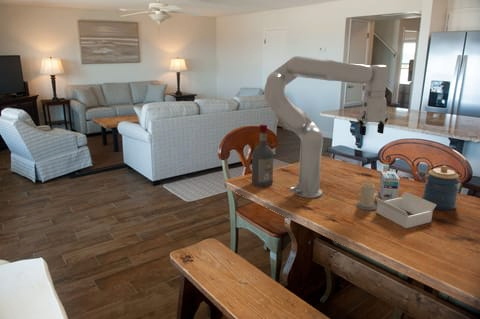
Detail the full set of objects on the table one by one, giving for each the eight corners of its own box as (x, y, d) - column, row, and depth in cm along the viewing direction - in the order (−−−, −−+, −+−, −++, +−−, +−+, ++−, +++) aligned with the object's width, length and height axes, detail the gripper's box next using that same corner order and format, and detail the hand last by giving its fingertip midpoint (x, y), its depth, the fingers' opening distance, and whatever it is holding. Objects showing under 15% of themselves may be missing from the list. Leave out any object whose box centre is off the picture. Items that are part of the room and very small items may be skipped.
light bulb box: (397, 201, 161) (400, 178, 158) (381, 200, 162) (384, 177, 159) (393, 192, 171) (395, 171, 168) (378, 191, 172) (380, 170, 169)
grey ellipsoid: (365, 211, 151) (366, 210, 151) (352, 204, 158) (352, 203, 158) (380, 208, 154) (380, 206, 154) (367, 201, 161) (367, 200, 161)
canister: (416, 198, 164) (422, 161, 159) (445, 198, 164) (452, 161, 159) (430, 210, 152) (436, 170, 147) (461, 211, 151) (469, 170, 146)
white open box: (402, 229, 136) (405, 211, 134) (373, 213, 149) (375, 197, 147) (433, 221, 142) (436, 204, 140) (402, 206, 156) (405, 191, 154)
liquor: (275, 184, 182) (276, 125, 173) (260, 188, 177) (261, 127, 168) (264, 179, 189) (264, 122, 180) (249, 183, 184) (250, 124, 175)
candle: (375, 204, 156) (377, 182, 153) (369, 208, 152) (371, 186, 149) (363, 201, 159) (365, 179, 157) (357, 204, 156) (359, 182, 153)
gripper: (365, 96, 149) (361, 137, 154) (397, 94, 155) (393, 134, 160) (353, 94, 156) (349, 133, 161) (385, 93, 162) (380, 130, 167)
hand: (371, 133), depth 161 cm, fingers open, 9 cm apart
